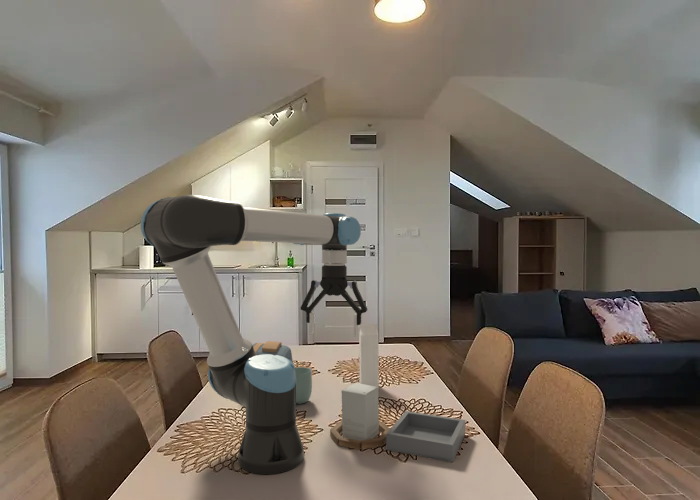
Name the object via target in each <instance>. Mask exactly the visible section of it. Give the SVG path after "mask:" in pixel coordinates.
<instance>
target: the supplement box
mask: <svg viewBox="0 0 700 500" xmlns="http://www.w3.org/2000/svg"><path fill="white" fill-rule="evenodd" d="M379 406H380V405H379V389H378V387H376V386H370V385H364V384H360V382H359V383H357V382H355V383H353V384H351V385H349V386H347V387H346V388H344V389H342V390H341V421H342V431H341V432H342V435H341V436H342V437H343V438H348V439H354V440H359V441H362V440H368V439H374V438H376V436H378V435H379V434H380V430H379V421H380V420H379V419H380V416H379V415H380V413H379Z"/></svg>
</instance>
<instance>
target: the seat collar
mask: <svg viewBox="0 0 700 500" xmlns="http://www.w3.org/2000/svg"><path fill="white" fill-rule="evenodd" d="M390 429H391V428H390V427H389V426H387V424H385V423H384V422H383V421H381V420H379V432H381V435H380V436H379V437H374V438H373V439H368V440H362V441H359V440H354V439H348V438H343V436H342V435H341V432H342V420H341V421H338V422H337V423H336V424H335V425H333V427H331V428H330V430H329V436H330V438H331V439H332V440H333V441H334V443H335V444H336V445H337V446H339V447H344V448H350V449H355V450H366V449H372V448H377V447H383V446H384V445H385V444H386V433H387V432H388V431H389V430H390ZM385 446H386V445H385Z"/></svg>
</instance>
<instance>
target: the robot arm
mask: <svg viewBox="0 0 700 500" xmlns="http://www.w3.org/2000/svg"><path fill="white" fill-rule="evenodd" d="M140 230H141V234H142V236H143V238H144V240H145V241H146V242H147V243H148V244H149V245H151V246H152V247H153V248H155V249H156V251H157V254H158V256H159V258H160V260H161V263H162V264H164V265H166V266H168V267H170V268H172V270H173V273H174V274H175V277H176V279H177V282H178V284H179V287H180V289H181V290H182V293H183V295H184V297H185V300H186V302H187V304H188V306H189V308H190V311H191V313H192V316H193V319H194V320H195V322H196V324H197V327H198V330H199V331H200V334H201V335H202V338H203V340H204V343H205V345H206V347H207V350H208V352H209V353H208V354H209V355H208V357H207V359H206V364H207V366H208V370H207V380H208V384H209V386H210V387H211V388H212V390H213V391H214V392H216V393H217V394H218V395H219V396H221V397H223V398H224V399H226V400H230V401H231V402H234V403H236V404H238V405H240V406H242V407H245V431H244V433H243V436H242V439H241V442H240V446H239V449H238V465H239V467H240V468H241V469H243V470H244V471H246V472H249V473H252V474H256V475H273V474H279V473H283V472H287V471H290V470H293V469H294V468H297V466H299V465H300V464H301V463H302V462H303V460H304V457H305V456H304V454H305V453H304V452H305V451H304V450H305V449H304V444H303V442H302V439H301V436H300V432H299V429H298V427H297V409H296V408H297V404H296V374H295V368H296V367H295V366H296V365H295V364H294V362H293V363H292V362H291V361H290V360H289V359H287V358H285V357H283V356H279V355H275V356H274V355H271V354H263V355H257V356H256V353H255V351H254V348H253V346H252V345H253V343H252V341H251V340H249V339H246V338H243V336H242V333H241V331H240V328H239V327H238V324H237V321H236V319H235V316H234V314H233V312H232V309H231V307H230V304H229V302H228V299H227V297H226V294H225V291H224V289H223V287H222V284H221V282H220V280H219V277H218V275H217V272H216V269H215V267H214V265H213V263H212V260H211V257H210V255H209V252H210V250H211V248H212V247H214V246H216V247H217V246H237V245H239V244H240V242H259V243H283V244H286V243H287V244H290V243H291V244H294V245H300V246H306V245H307V246H309V245H310V246H321V263H322V265H321V279H320V281H319V280H317V279H313V280H311V282H310V288H309V290H308V292H307V294H306V296H305V297H304V300H303V302H302V304H301V305H300V308H299V309H300V310H301V311H304V312H305V313H306V314H305V315H306V320H305V321H306V323H307V324H309V330H308V331H309V333H308V334H309V335H313V334H315V311H313V310H314V309H315V308H316V307H317V305H318V304H319V303H320V302H321V301H322V300H323V298H324V297H325V296H326V295H327V296H329V297H331V296H336V297H339V296H342V297H343V299H344V300H345V301H346V302H347V303H348V305H349V306H350V307H351V308H352V309H353V311H354V312H355V313H354V314H353V337H355V338H356V337H358V336H359V330H358V328H359V327H358V326H360V325H361V324H362V314H365V313H366V312H368V307H367V305H366V303H365V301H364V298H363V297H362V295H361V293H360V291H359V288H358V281H357V280H353V281H348V280H347V276H348V275H347V273H348V272H347V271H348V270H347V265H346V264H347V263H348V259H347V258H348V253H347V249H348V247H347V246H351V245H354V244H356V243H357V242H358V241H359V240H360V238H361V234H362V233H361V232H362V229H361V224H360V222H359V221H358V219H357V218H355V217H354V216H347V215H346V214H344V213H341V212H340V213H335V212H329V213H328V212H327V213H323V214H315V213H306V212H305V213H304V212H297V211H296V212H293V211H285V210H274V209H264V208H255V207H254V208H253V207H245V206H243V205H242V204H241V202H238V201H232V200H225V199H218V198H213V197H210V196H209V197H208V196H205V195H204V196H203V195H199V194H198V195H197V194H183V195H181V196H180V195H178V196H167V197H163V198H160V199H159V200H155V201H154V202H152V203H151V204H149V205H148V206H147V207H146V208H145V210H144V211H143V213H142V215H141V219H140ZM319 286H320V287H321V288H322V289H321V292H320V293H319V294H318V295H317V296H316V298H315V299H314V300H313V301H312V302H311V303H310V301H311V299H312V297H313V295H314V294H315V291H316V289H317V288H318V287H319ZM348 286H349V288H350V289H352V292H353V294H354V296H355V298H356V299H355V300H356V301H357V303H358V304H357V303H356V302H355V300H354V298H352V297H351V296H350V294H349V292H348V291H347V290H346V289H347V287H348ZM309 303H310V304H309Z"/></svg>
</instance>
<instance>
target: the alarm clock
mask: <svg viewBox="0 0 700 500" xmlns="http://www.w3.org/2000/svg"><path fill="white" fill-rule="evenodd" d="M282 343H283V342H281V341H270V340H268V341H265V342H254V343H252V346H253V348H254V351H255V353H256V356H257V355H263V354H271V355H274V356H275V355H279V356H283V357H285V358H287V359H289V360H290V361H291V362H292V363H293V364H294V362H293V354H292V350H291V348H290V346H288V345H283V344H282Z"/></svg>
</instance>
